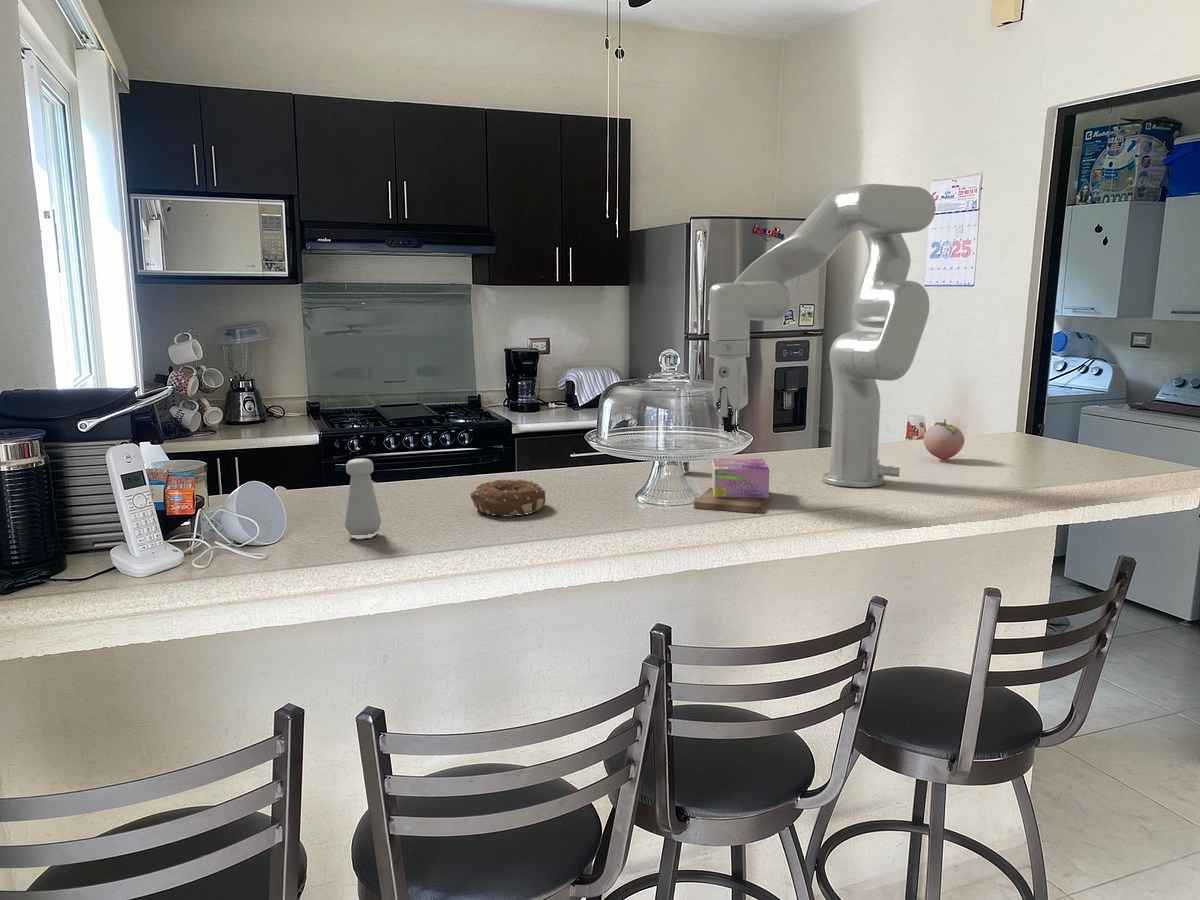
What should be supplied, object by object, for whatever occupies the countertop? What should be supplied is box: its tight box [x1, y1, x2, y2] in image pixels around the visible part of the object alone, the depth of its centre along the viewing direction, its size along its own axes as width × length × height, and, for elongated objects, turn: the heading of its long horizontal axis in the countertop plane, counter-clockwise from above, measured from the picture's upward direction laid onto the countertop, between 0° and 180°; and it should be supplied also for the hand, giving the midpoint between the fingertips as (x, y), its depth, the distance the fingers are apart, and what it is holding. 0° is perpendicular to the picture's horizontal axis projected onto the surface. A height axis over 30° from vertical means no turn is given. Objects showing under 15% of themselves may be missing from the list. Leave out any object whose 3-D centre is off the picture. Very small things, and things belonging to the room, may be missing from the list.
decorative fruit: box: [923, 419, 965, 461], centre depth 202 cm, size 9×8×10 cm
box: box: [711, 457, 770, 498], centre depth 166 cm, size 10×6×12 cm
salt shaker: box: [344, 457, 382, 536], centre depth 140 cm, size 6×6×13 cm
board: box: [693, 487, 771, 514], centre depth 162 cm, size 12×13×1 cm
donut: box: [470, 479, 546, 515], centre depth 158 cm, size 14×14×5 cm
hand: (729, 444), depth 164 cm, fingers closed
